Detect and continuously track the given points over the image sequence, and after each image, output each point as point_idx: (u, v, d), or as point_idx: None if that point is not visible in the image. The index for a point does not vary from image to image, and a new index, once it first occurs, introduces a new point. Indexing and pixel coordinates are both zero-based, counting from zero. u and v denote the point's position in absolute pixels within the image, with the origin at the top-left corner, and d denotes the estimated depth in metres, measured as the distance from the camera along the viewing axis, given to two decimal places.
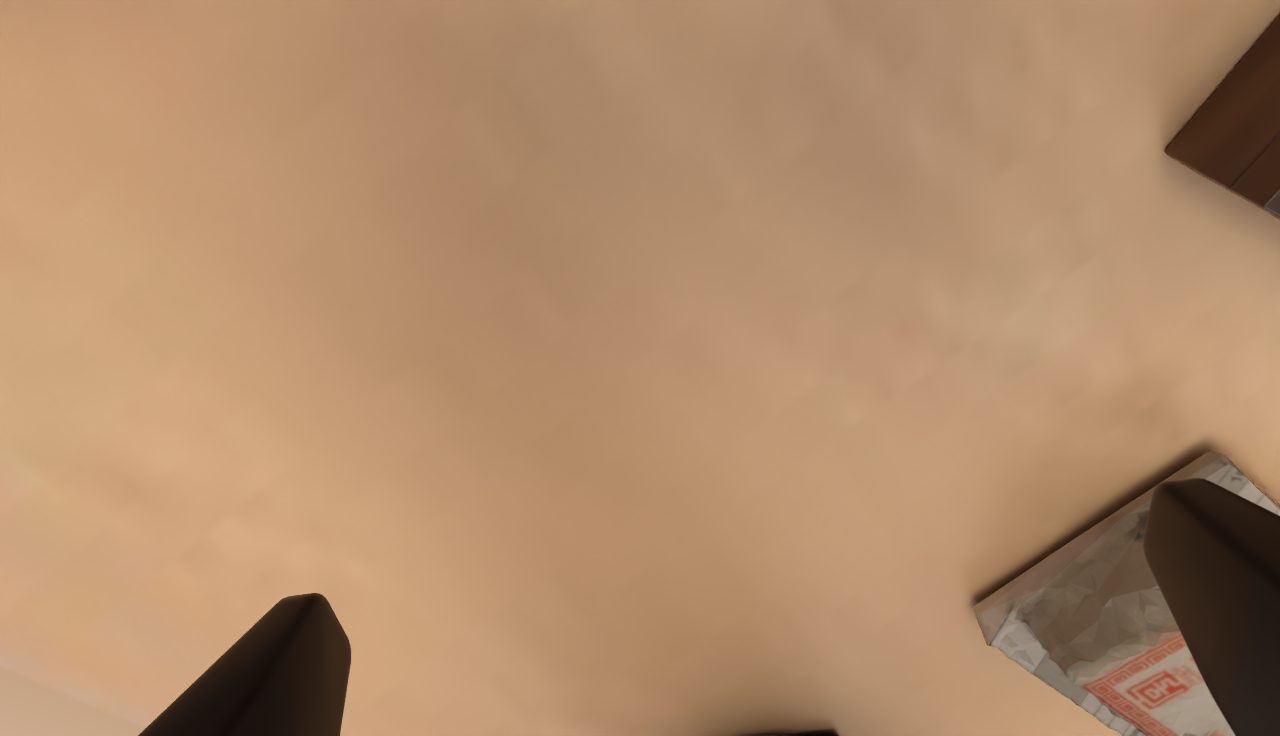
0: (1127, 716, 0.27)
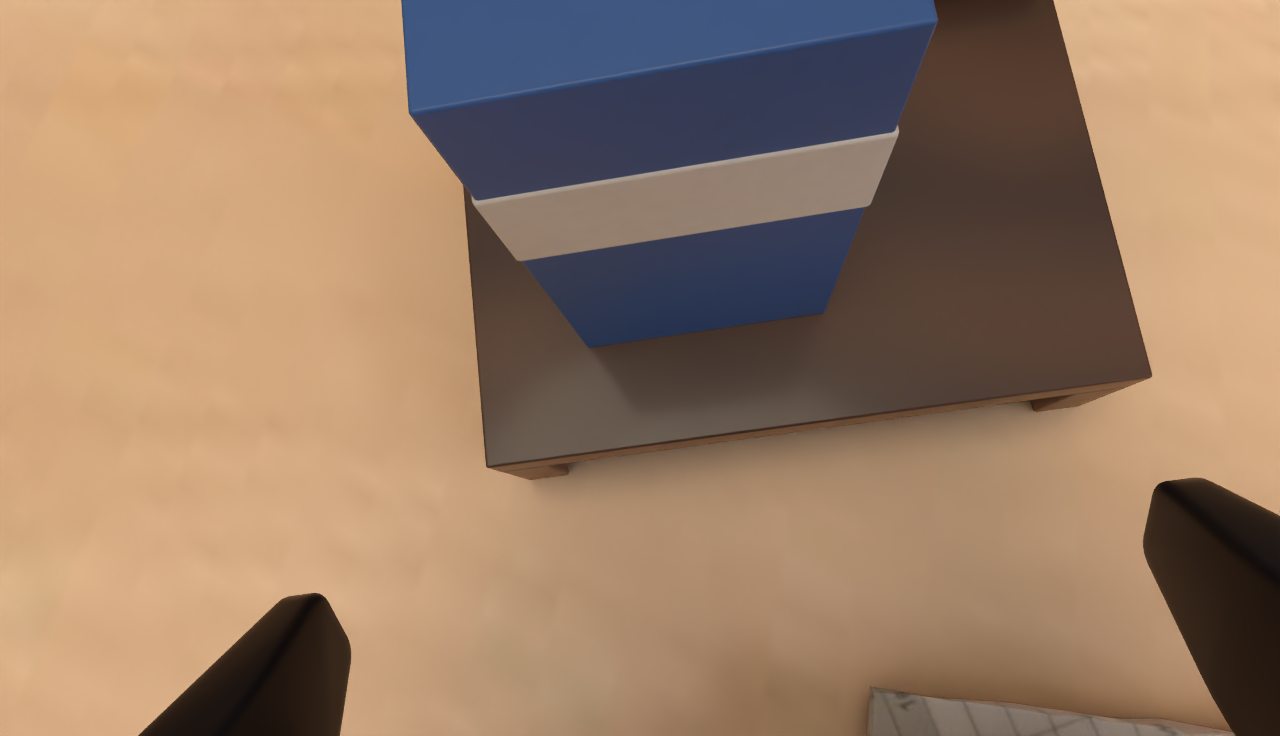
0: None
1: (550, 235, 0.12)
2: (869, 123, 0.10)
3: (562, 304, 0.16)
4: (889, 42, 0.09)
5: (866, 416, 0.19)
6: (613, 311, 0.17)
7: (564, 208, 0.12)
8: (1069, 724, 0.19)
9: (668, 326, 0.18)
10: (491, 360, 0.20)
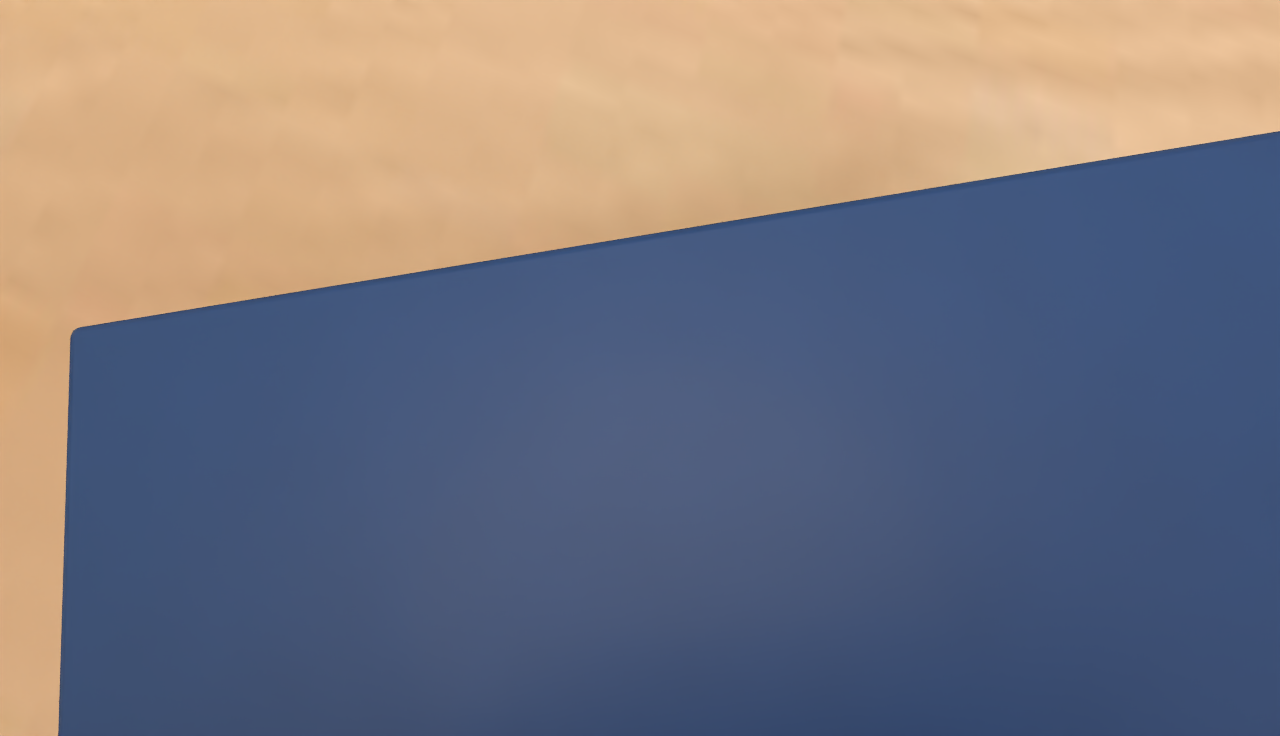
0: None
1: None
2: None
3: None
4: None
5: None
6: None
7: None
8: None
9: None
10: None
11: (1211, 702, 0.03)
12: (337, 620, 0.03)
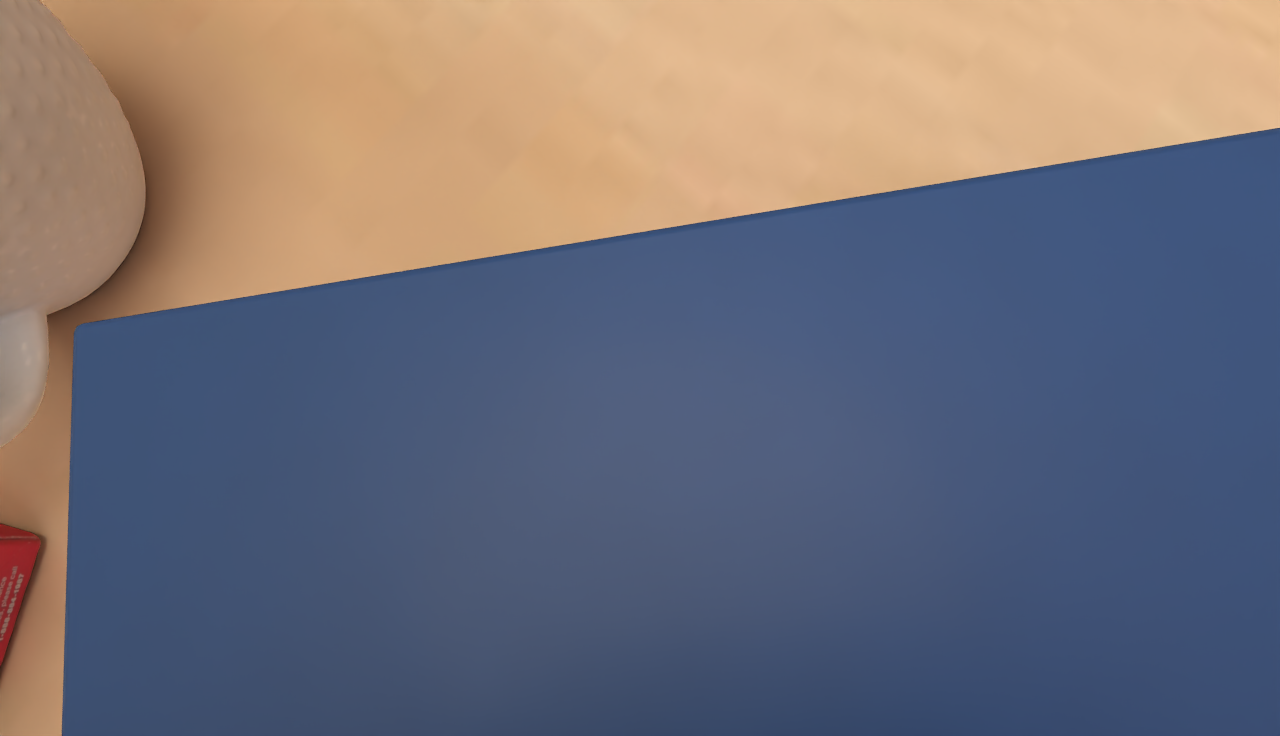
0: None
1: None
2: None
3: None
4: None
5: None
6: None
7: None
8: None
9: None
10: None
11: (1214, 697, 0.03)
12: (339, 616, 0.03)
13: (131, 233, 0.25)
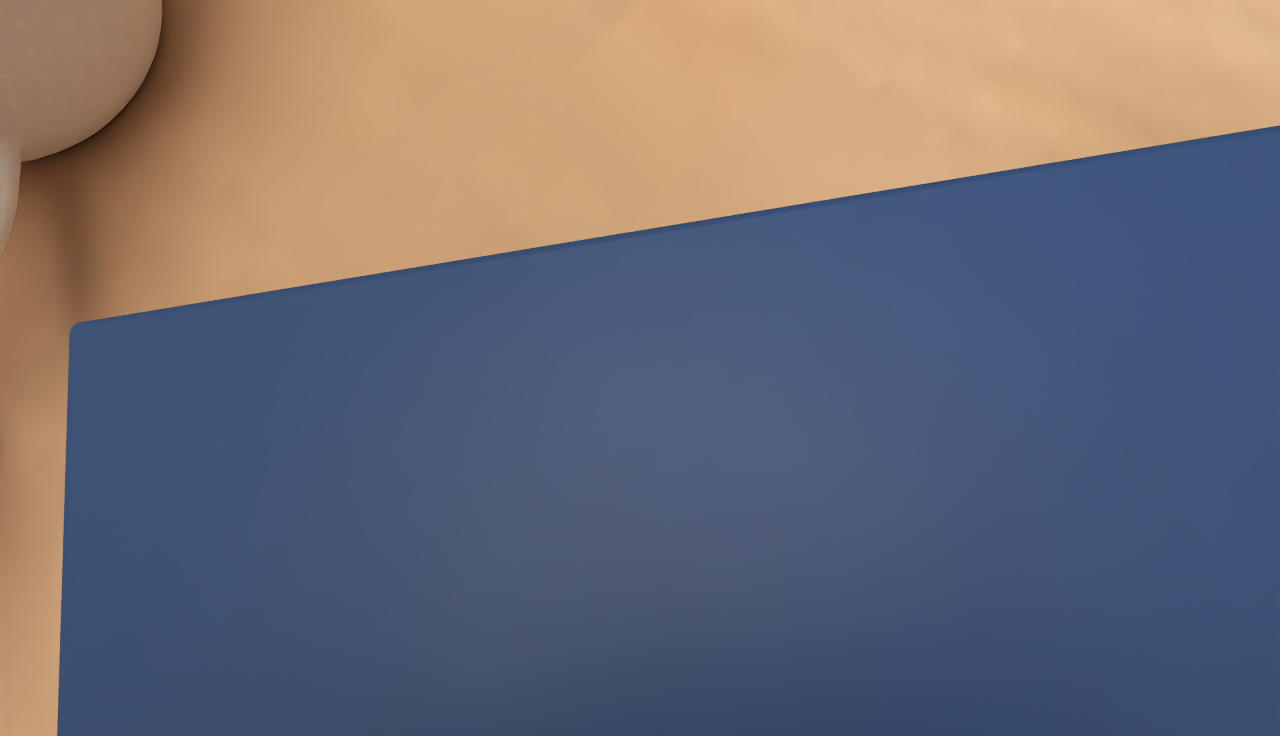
0: None
1: None
2: None
3: None
4: None
5: None
6: None
7: None
8: None
9: None
10: None
11: (1210, 696, 0.03)
12: (337, 616, 0.03)
13: (138, 65, 0.20)
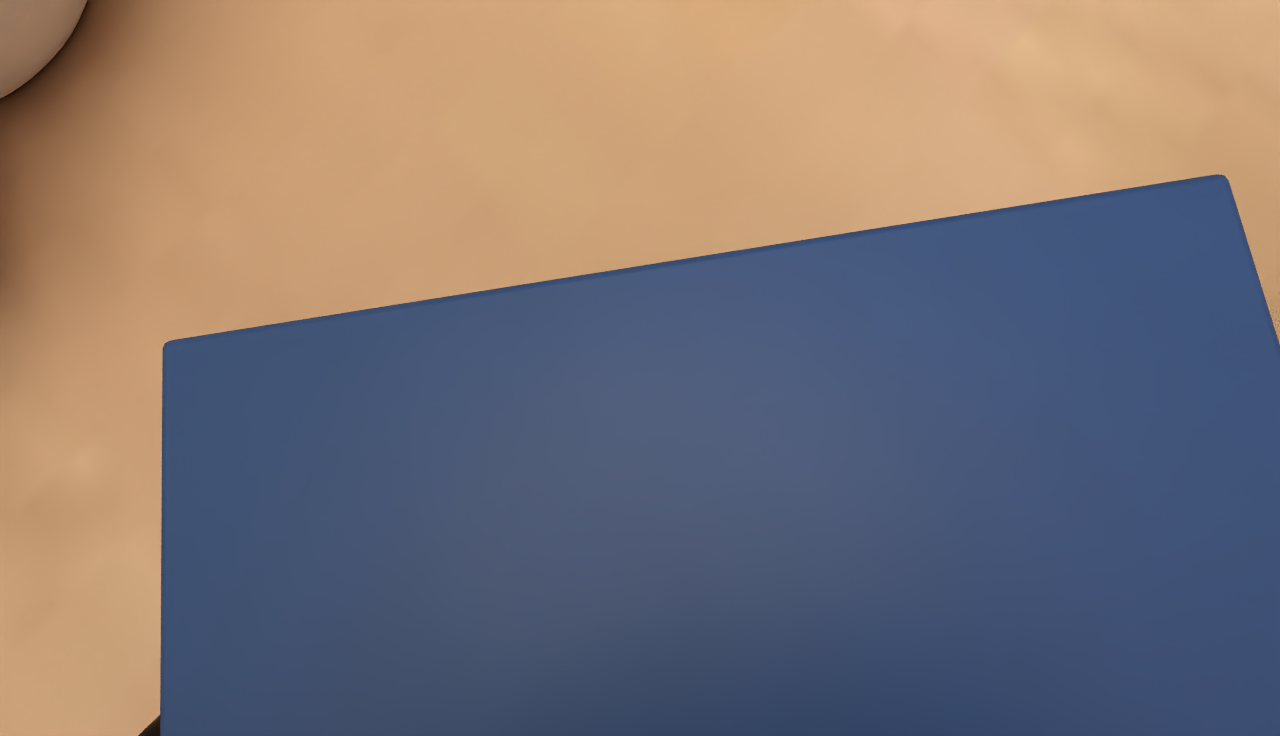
0: None
1: None
2: None
3: None
4: None
5: None
6: None
7: None
8: None
9: None
10: None
11: (1136, 658, 0.04)
12: (400, 591, 0.04)
13: (63, 9, 0.17)
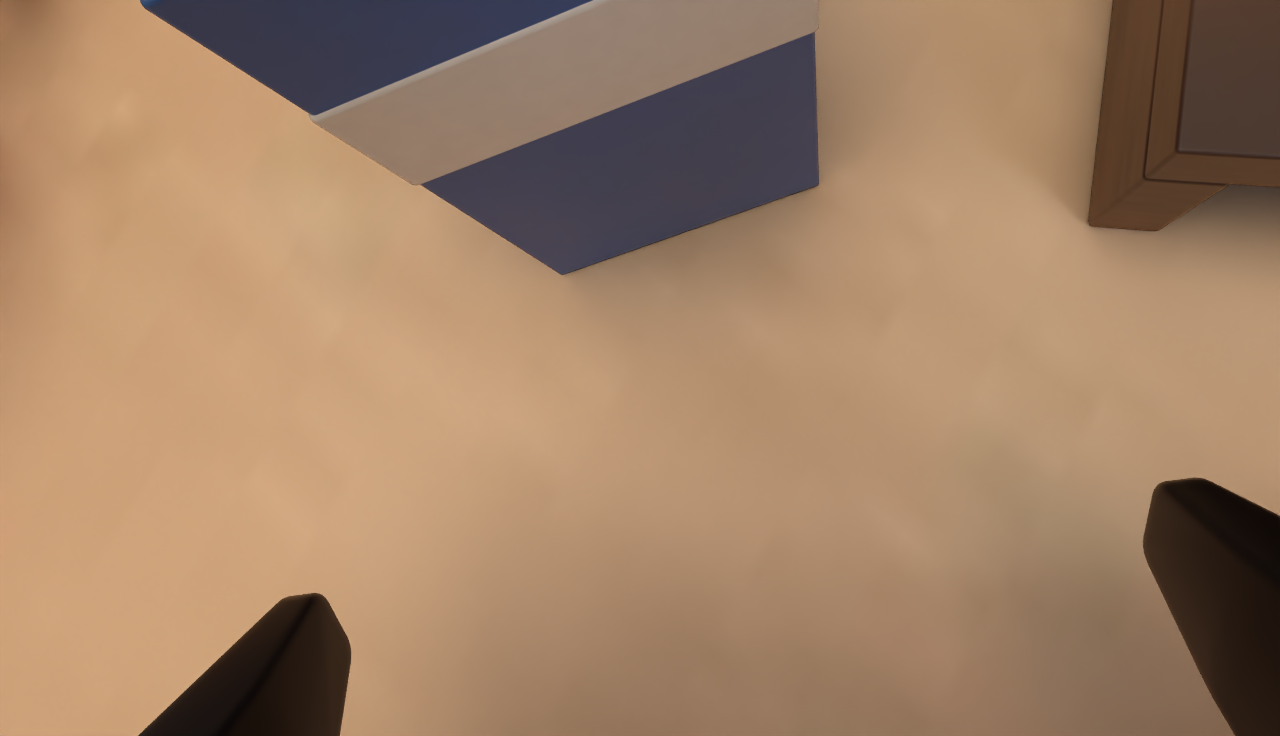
0: None
1: (432, 145, 0.10)
2: None
3: (500, 228, 0.14)
4: None
5: None
6: (566, 227, 0.15)
7: (430, 106, 0.09)
8: None
9: (641, 234, 0.16)
10: None
11: None
12: None
13: None
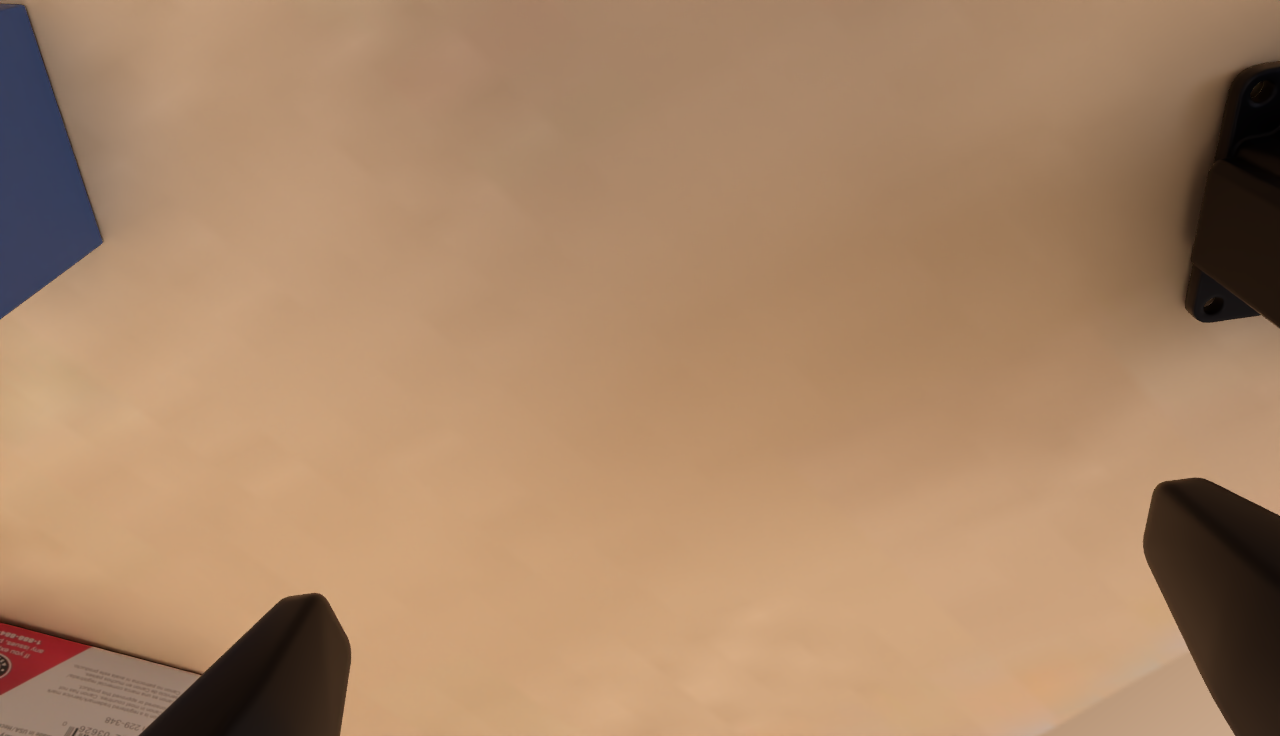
0: None
1: None
2: None
3: (8, 305, 0.18)
4: None
5: None
6: (23, 250, 0.18)
7: None
8: None
9: (56, 178, 0.19)
10: None
11: None
12: None
13: None
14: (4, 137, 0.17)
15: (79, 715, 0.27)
